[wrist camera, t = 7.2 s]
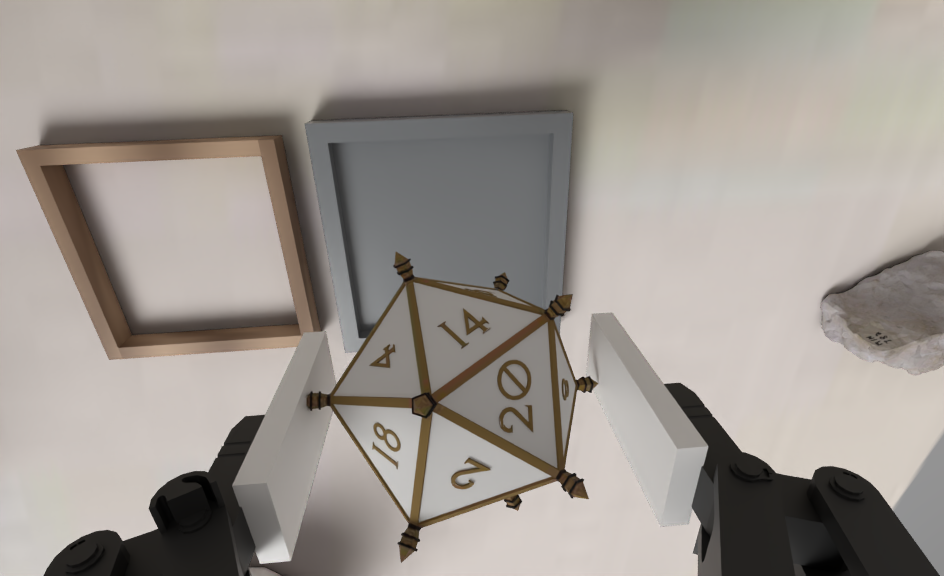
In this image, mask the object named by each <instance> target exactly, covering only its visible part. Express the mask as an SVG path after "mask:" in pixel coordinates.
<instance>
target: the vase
mask: <svg viewBox="0 0 944 576" xmlns="http://www.w3.org/2000/svg"><path fill="white" fill-rule="evenodd" d="M249 569H250V572H251V575H252V576H281V575H279V574H277V573H275V572H273V571H271V570H269V569H267V568H265V567H249Z"/></svg>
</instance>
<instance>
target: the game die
mask: <svg viewBox="0 0 944 576" xmlns="http://www.w3.org/2000/svg"><path fill="white" fill-rule="evenodd" d="M410 260H411V259H407V258H406V257H404V256H403V255H401V254H399V253H398V252H395V264H394V265H393V267H394V268H396V269H397V271H398V272H397V274H398V275H400V276H401V277H402V278H403V283H402V285H401V286H400V288H399V289H398V291H397V292H396V294H395V295H394V297H393V298H392V300H391V301H390V303H389V304H388V306H387V308H386V309H385V311H384V312H383V314H382V315H381V317H380V318H379V320H378V321H377V323H376V324H375V326H374V327H373V329H372V331H371V332H370V334H369V335H368V337H367V338H366V340H365V341H364V343H363V344H362V346H361V347H360V349H359V350H358V352H357V354H356V355H355V357H354V358H353V360H352V361H351V363H350V364H349V366H348V367H347V369H346V370H345V372H344V373H343V375H342V377H341V378H340V380H339V381H338V383H337V384H336V386H335V387H334V389H333V390H332V392H331V393H330V394H323V393H321V391H319V393H313V391H311V392H310V394H309V395H308V396H307V407H308V408H309V409H310V411H312V409H318V408H319V410H321V408H323V407H325V406H330V407H331V408H332V410H333V411H334V413H335V414H336V416H337V417H338V419H339V420H340V422H341V423H342V425H343V426H344V428H345V429H346V431H347V432H348V434H349V435H350V437H351V438H352V440H353V441H354V443H355V444H356V446H357V447H358V449H359V450H360V452H361V453H362V455H363V456H364V458H365V459H366V461H367V462H368V464H369V465H370V467H371V468H372V470H373V471H374V473H375V474H376V476H377V477H378V479H379V480H380V482H381V483H382V485H383V486H384V487H385V489H386V490H387V492H388V493H389V495H390V496H391V498H392V499H393V501H394V502H395V504H396V505H397V507H398V508H399V510H400V511H401V513H402V514H403V516H404V517H405V519H406V520H407V522H408V523H409V524H408V528H407V529H406V531H405V532H404V533H402V534H401V535H402V538H401V541H400V542H398V544H399V549H400V558H401V562H403V561H404V560H405V559H406V558H407V557H408V556H409V555H411V554H412V553H413V552H414V551H417V549H416V546H417V542H420V539H418V538H419V530H420V529H421V528H423V527H426V526H428V525H431V524H434V523H437V522H440V521H443V520H446V519H449V518H451V517H454V516H457V515H460V514H463V513H466V512H469V511H472V510H475V509H477V508H480V507H483V506H486V505H489V504H492V503H495V502H498V501H500V500H503V499H504V501H505V502H506V503H507V505H506V507H508V508H513V509H515V510H517V511H518V510H519V506H520V503H521V502H522V501H521V499H520V498H519V495H518V494H521V493H524V492H526V491H529V490H532V489H535V488H538V487H541V486H544V485H547V484H549V483H552V482H555V481H559V482H560V483H561V484H562V486H561V487H562V488H563V490H564V491H565V492H566V491H567V492H568V494H569V495H570V497H571V498H573V497H578V498H585V499H589V498H588V495H587V492H586V490H585V487H584V484H583V481H584V479H579V478H578V477H576V474H575V473H573V474H571V473H568V472H567V471H566V470H565V463H566V456H567V450H568V444H569V437H570V431H571V425H572V419H573V412H574V406H575V400H576V393H577V390H581V391H582V392H583V393H585V392H586V391H588V392H590V393H591V392H592V390H593V389H594V388H595V387H596V386H597V385H598V383H597V382H596V381H594V380H593V379H591V377H590V376H588V377H586V378H584V377H581V378H580V379H578V380H575V377H574V374H573V371H572V368H571V366H570V363H569V360H568V357H567V354H566V352H565V349H564V346H563V343H562V340H561V338H560V335H559V332H558V329H557V326H556V324H555V321H554V319H555V318H556V317H558V316H564V313H565V312H566V311H570V310H571V309H570V304H571V300H572V295H573V294H570V295H562V296H559V295H556V297H555V300H554V301H552V300H551V301H550V304H549V308H548V309H546V310H545V309H542V308H540V307H538V306H536V305H533V304H531V303H529V302H527V301H524V300H522V299H520V298H518V297H516V296H513V295H511V294H509V293H507V292H504V291H503V290H505V289H506V287H507V284H508V282H509V279H508V278H507V276H506V273H505V272H504V273H502V274H501V275H499V276H495V281H494V282H493V284H494V288H489V287H482V286H475V285H469V284H462V283H455V282H448V281H441V280H434V279H427V278H420V277H415V276H414V275H413V270H412V269H413V268H414V267H413V266H411V264H410Z"/></svg>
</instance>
